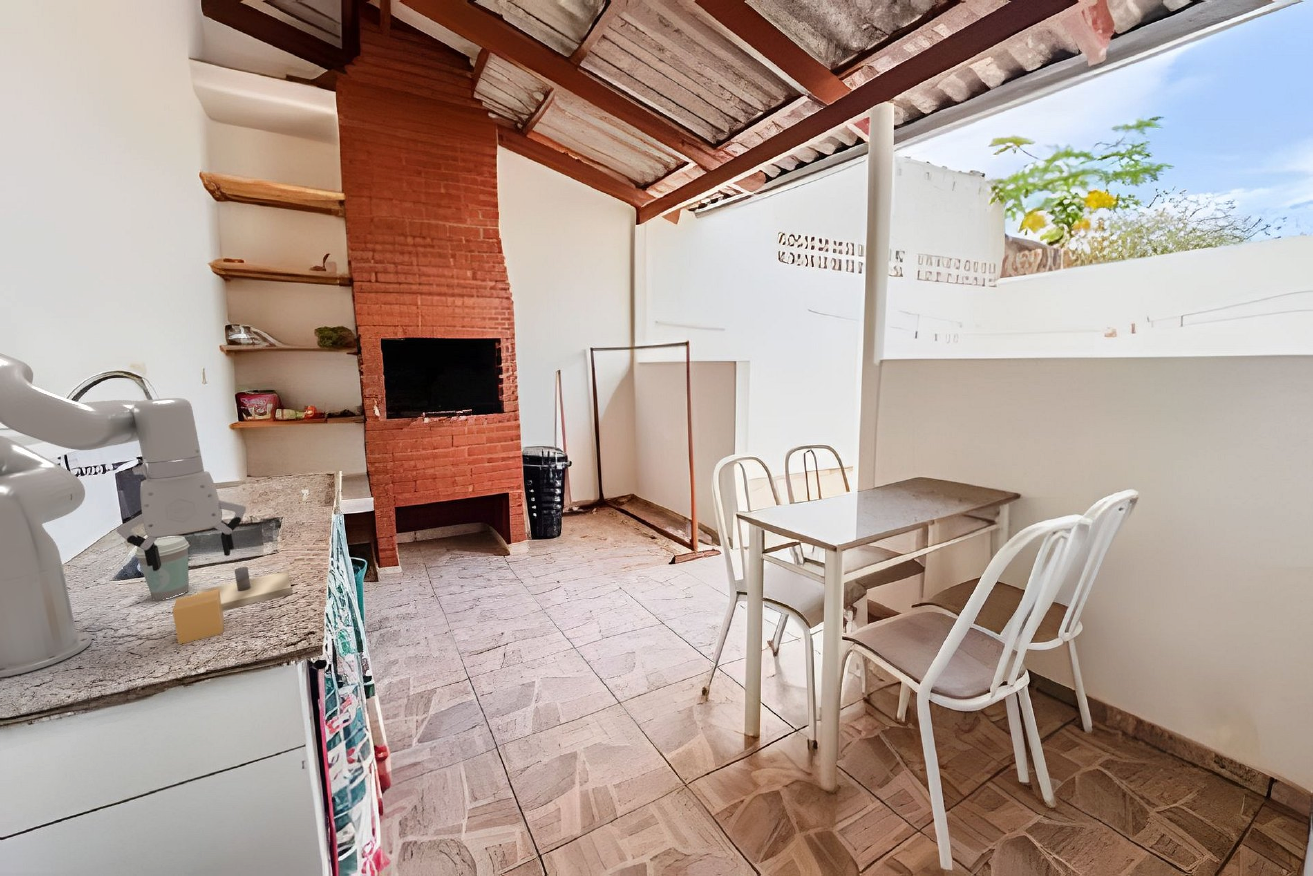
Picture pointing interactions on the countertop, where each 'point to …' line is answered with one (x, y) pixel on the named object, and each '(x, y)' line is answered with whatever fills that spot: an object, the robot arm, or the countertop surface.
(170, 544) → the coffee cup
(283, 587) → the post board
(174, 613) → the tan matte cube
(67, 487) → the robot arm
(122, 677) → the countertop surface
